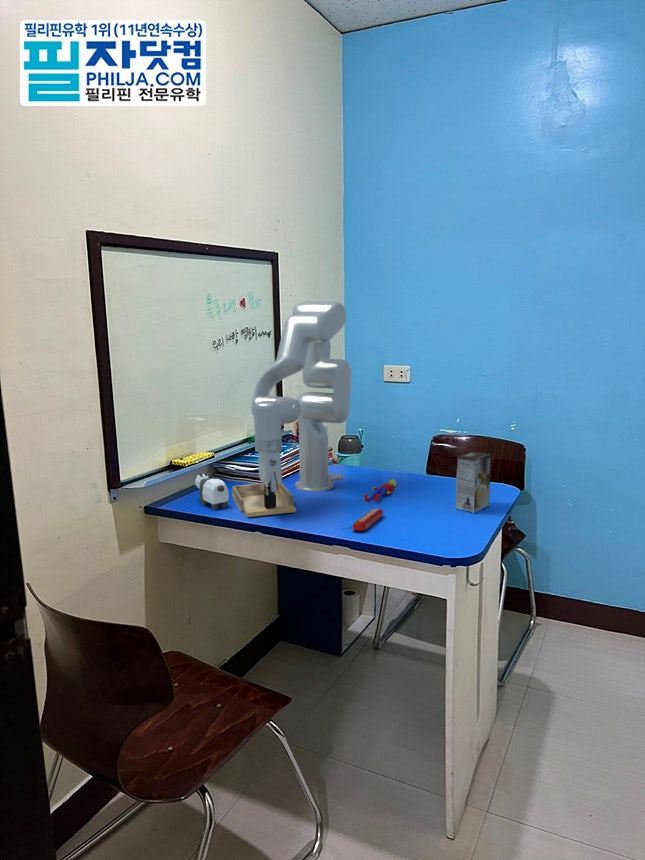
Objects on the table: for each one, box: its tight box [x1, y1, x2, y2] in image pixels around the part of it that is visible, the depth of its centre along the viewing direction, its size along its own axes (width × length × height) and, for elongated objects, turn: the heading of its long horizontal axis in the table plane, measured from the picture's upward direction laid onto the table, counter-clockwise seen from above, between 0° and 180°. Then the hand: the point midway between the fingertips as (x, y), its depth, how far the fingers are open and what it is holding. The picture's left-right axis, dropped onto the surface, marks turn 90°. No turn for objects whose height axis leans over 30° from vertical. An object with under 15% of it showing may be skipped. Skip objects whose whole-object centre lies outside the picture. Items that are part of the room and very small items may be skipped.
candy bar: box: [352, 508, 384, 532], centre depth 173 cm, size 16×4×3 cm, turn 154°
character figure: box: [364, 479, 397, 503], centre depth 200 cm, size 6×4×20 cm
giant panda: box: [194, 472, 230, 511], centre depth 190 cm, size 15×6×10 cm, turn 40°
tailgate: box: [244, 504, 297, 518], centre depth 181 cm, size 14×1×4 cm
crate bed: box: [231, 482, 294, 513], centre depth 192 cm, size 16×16×4 cm
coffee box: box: [455, 451, 492, 513], centre depth 184 cm, size 9×6×16 cm
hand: (270, 507), depth 181 cm, fingers closed
